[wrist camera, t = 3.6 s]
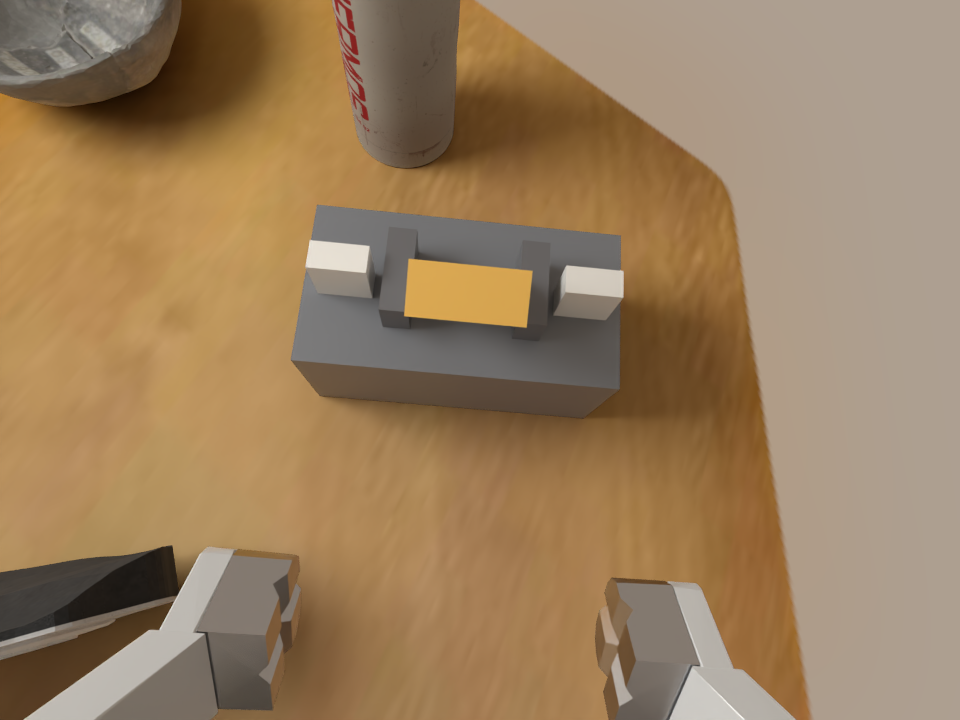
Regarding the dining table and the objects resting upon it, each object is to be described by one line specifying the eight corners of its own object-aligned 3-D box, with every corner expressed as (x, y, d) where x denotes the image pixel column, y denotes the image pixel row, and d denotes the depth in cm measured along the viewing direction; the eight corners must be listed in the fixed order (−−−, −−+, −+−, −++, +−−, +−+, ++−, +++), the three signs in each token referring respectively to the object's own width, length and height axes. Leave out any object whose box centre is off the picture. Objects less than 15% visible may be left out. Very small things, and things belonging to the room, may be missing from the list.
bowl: (-73, 70, 48) (-169, -19, 40) (92, -61, 53) (33, -162, 45) (97, 191, 46) (30, 122, 39) (252, 44, 51) (220, -43, 43)
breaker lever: (506, 310, 36) (526, 327, 26) (420, 302, 36) (404, 316, 25) (510, 270, 36) (532, 270, 25) (423, 261, 36) (408, 258, 25)
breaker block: (583, 418, 44) (639, 373, 32) (319, 395, 43) (274, 340, 31) (586, 291, 47) (639, 205, 35) (339, 267, 46) (305, 170, 34)
